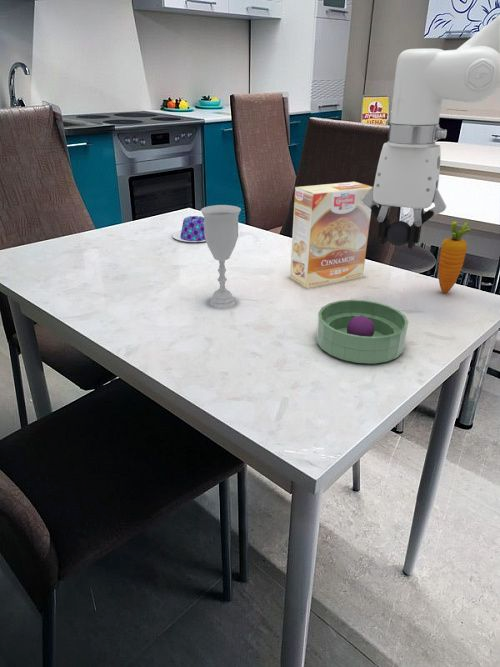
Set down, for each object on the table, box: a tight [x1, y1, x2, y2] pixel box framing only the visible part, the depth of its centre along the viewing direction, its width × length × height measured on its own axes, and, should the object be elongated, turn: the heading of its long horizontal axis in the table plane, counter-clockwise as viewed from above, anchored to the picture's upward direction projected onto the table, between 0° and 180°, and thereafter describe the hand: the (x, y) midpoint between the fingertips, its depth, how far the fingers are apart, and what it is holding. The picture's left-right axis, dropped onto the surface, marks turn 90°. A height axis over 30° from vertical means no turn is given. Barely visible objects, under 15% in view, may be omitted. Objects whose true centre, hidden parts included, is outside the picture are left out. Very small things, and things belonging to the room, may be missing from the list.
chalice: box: [200, 204, 242, 309], centre depth 93 cm, size 7×7×18 cm
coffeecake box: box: [289, 181, 373, 289], centre depth 105 cm, size 15×7×20 cm, turn 117°
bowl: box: [315, 299, 409, 364], centre depth 82 cm, size 14×14×5 cm
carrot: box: [438, 220, 471, 294], centre depth 99 cm, size 5×5×15 cm
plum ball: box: [347, 316, 375, 336], centre depth 82 cm, size 4×4×4 cm
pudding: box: [172, 215, 206, 243], centre depth 134 cm, size 12×12×5 cm
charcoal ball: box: [386, 220, 411, 247], centre depth 90 cm, size 4×4×4 cm
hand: (397, 243), depth 90 cm, fingers closed on charcoal ball, 4 cm apart
